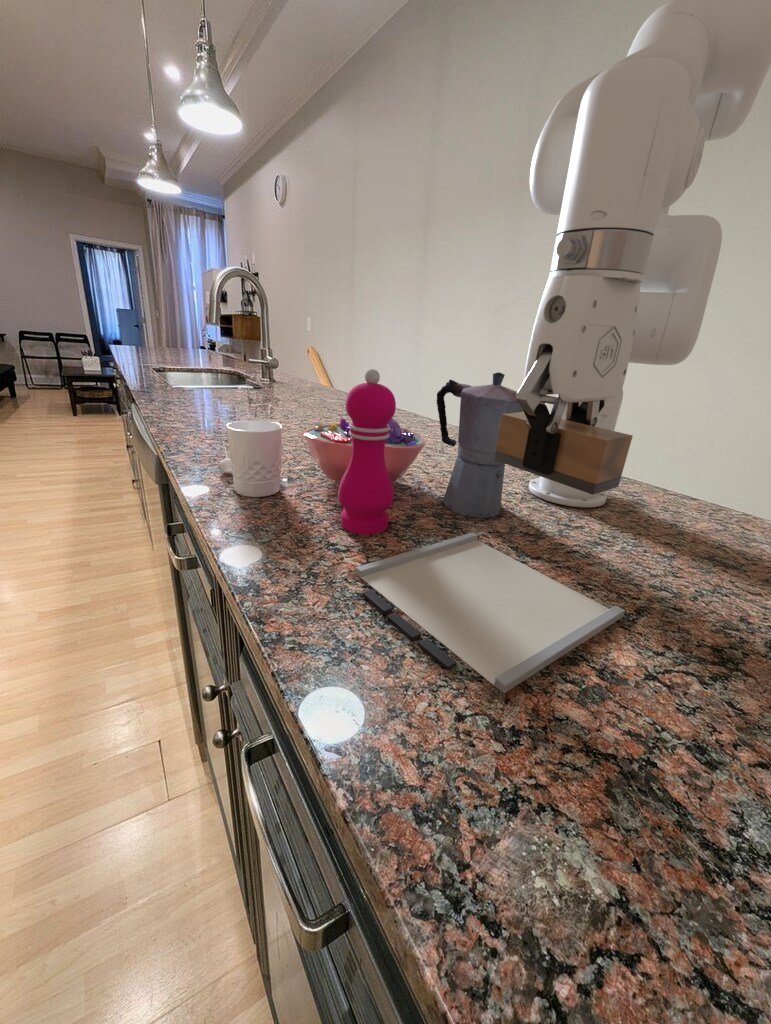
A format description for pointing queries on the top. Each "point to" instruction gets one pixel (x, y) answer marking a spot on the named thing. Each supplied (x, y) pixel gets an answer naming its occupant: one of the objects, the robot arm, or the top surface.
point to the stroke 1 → (377, 602)
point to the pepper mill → (367, 458)
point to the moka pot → (477, 446)
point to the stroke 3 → (437, 654)
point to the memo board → (488, 607)
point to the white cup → (255, 456)
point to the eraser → (569, 453)
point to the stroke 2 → (404, 626)
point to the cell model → (336, 448)
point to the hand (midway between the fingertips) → (553, 465)
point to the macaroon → (225, 466)
